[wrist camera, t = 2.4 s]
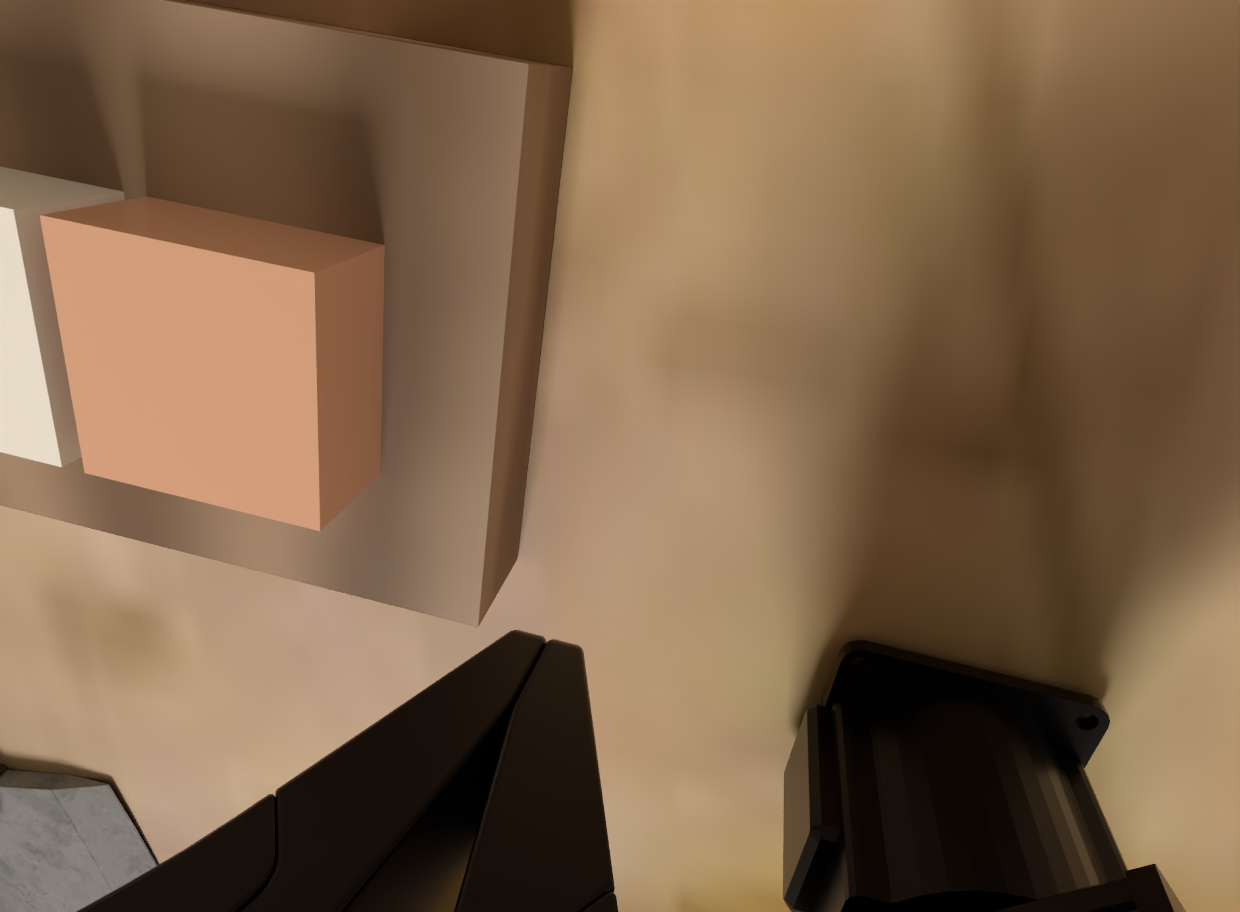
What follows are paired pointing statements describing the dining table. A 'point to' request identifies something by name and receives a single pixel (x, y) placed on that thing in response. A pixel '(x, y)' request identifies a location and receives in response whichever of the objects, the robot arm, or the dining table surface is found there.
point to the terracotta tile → (221, 355)
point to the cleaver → (63, 842)
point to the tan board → (335, 204)
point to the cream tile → (35, 319)
